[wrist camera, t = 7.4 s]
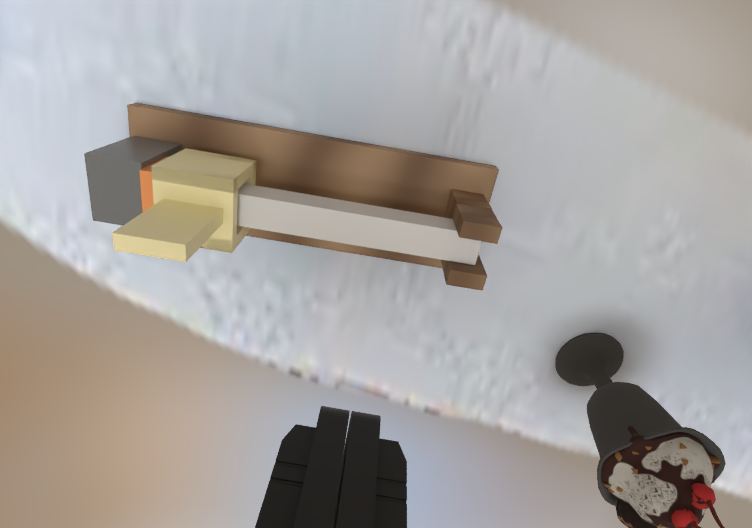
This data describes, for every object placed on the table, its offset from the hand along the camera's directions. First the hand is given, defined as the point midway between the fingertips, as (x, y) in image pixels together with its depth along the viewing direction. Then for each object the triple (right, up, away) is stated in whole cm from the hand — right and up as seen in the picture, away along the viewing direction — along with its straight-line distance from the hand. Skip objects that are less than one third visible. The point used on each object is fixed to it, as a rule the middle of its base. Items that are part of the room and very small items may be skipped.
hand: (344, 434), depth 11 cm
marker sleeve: (-8, +9, +15) cm, 19 cm away
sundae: (+17, -3, +23) cm, 28 cm away
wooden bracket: (-3, +9, +17) cm, 20 cm away
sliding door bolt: (-4, +9, +16) cm, 19 cm away
